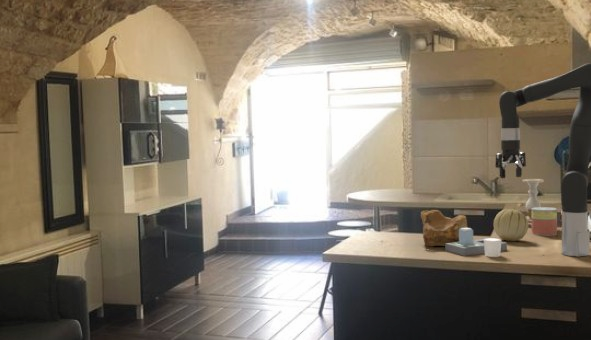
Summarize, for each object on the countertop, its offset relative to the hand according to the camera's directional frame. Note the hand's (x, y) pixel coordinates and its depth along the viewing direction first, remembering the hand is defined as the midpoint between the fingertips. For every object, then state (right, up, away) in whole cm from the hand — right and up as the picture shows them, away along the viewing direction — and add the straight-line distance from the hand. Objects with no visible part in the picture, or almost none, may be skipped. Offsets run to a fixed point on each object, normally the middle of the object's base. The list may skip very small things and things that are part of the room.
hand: (510, 177), depth 252 cm
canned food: (+28, -27, +33) cm, 51 cm away
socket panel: (-16, -31, -3) cm, 35 cm away
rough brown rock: (-28, -31, +11) cm, 43 cm away
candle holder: (+31, -26, +55) cm, 69 cm away
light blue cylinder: (-20, -31, -5) cm, 37 cm away
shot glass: (-12, -32, -13) cm, 36 cm away
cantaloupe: (+6, -29, +17) cm, 34 cm away
